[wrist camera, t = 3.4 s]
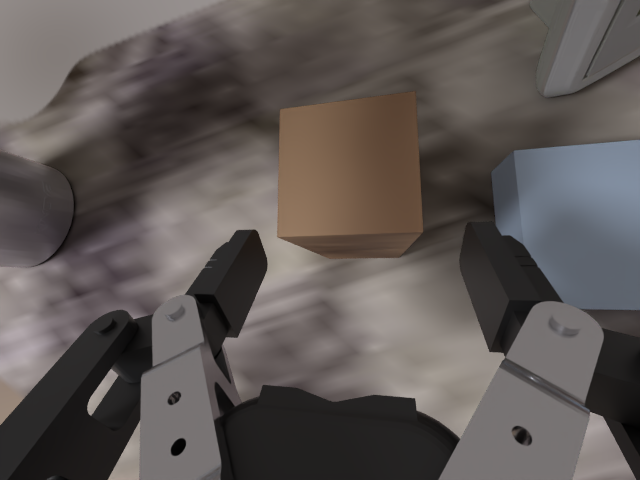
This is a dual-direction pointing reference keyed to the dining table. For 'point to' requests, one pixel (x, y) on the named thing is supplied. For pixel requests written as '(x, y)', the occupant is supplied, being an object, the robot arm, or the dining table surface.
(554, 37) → the digital clock
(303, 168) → the walnut pillar
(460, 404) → the dining table surface
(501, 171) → the pedestal
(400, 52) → the dining table surface
